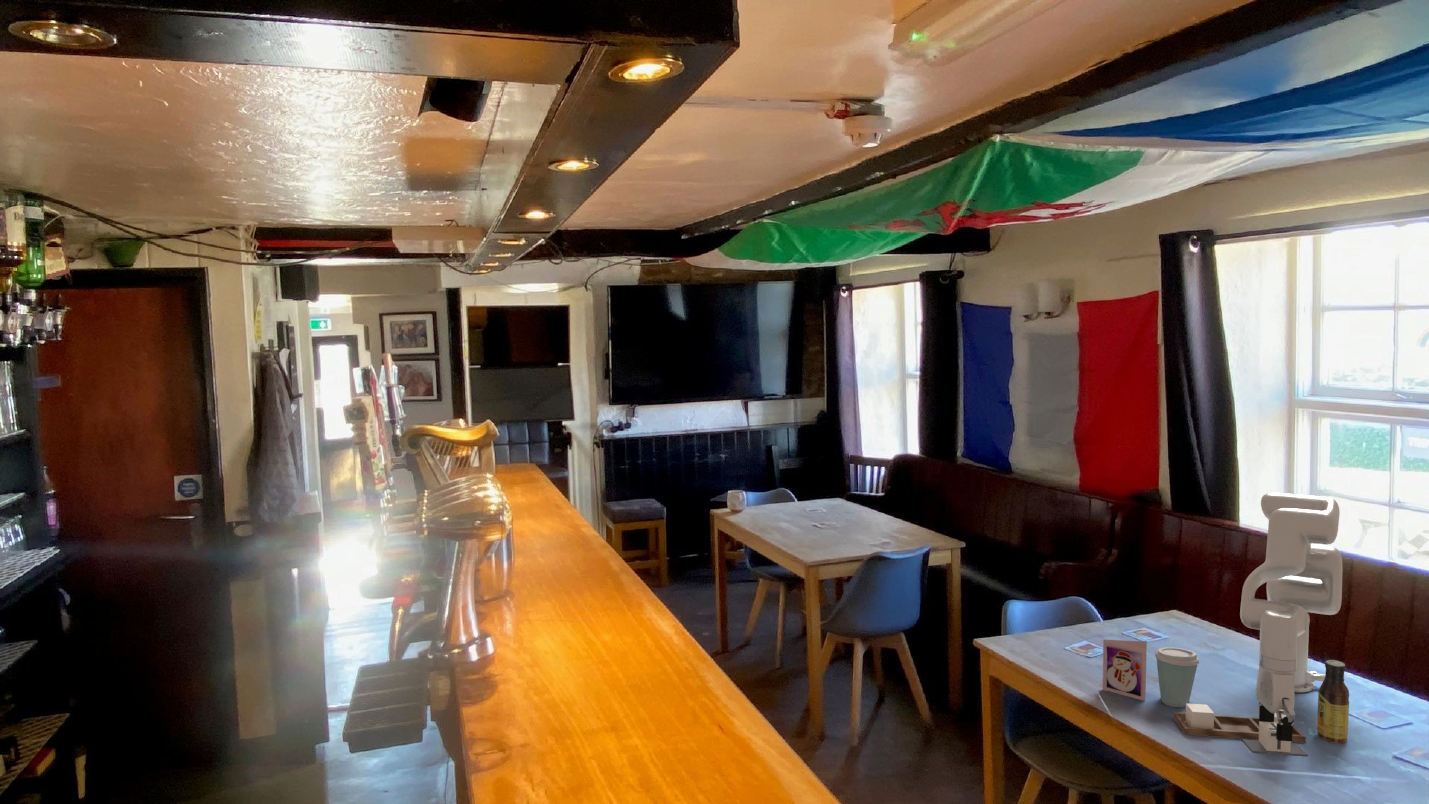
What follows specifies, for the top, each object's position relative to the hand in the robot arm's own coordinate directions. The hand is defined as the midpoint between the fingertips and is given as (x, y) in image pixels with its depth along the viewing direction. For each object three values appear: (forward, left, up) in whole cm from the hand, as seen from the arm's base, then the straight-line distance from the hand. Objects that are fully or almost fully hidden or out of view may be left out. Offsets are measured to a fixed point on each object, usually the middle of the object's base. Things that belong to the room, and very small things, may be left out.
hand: (1274, 730), depth 209 cm
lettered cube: (0, 0, -4) cm, 4 cm away
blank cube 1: (+14, -9, -4) cm, 17 cm away
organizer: (+5, -9, -5) cm, 11 cm away
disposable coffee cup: (+15, -24, -5) cm, 29 cm away
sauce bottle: (-16, -8, -5) cm, 19 cm away
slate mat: (0, 0, -5) cm, 5 cm away
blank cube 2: (-4, -9, -4) cm, 11 cm away
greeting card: (+26, -29, -5) cm, 39 cm away
